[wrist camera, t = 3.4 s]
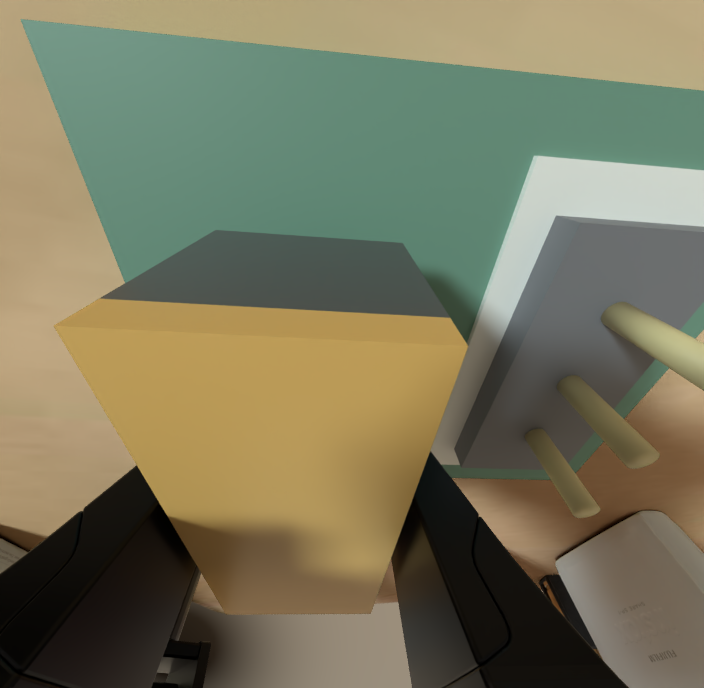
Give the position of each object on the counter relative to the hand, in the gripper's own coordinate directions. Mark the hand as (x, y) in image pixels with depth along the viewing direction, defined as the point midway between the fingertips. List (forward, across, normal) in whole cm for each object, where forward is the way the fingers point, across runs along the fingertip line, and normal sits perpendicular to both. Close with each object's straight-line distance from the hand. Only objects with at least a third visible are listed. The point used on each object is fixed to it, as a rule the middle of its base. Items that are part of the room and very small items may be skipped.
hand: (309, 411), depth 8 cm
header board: (+4, -4, 0) cm, 6 cm away
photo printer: (+5, -24, +19) cm, 31 cm away
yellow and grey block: (+1, 0, 0) cm, 1 cm away
